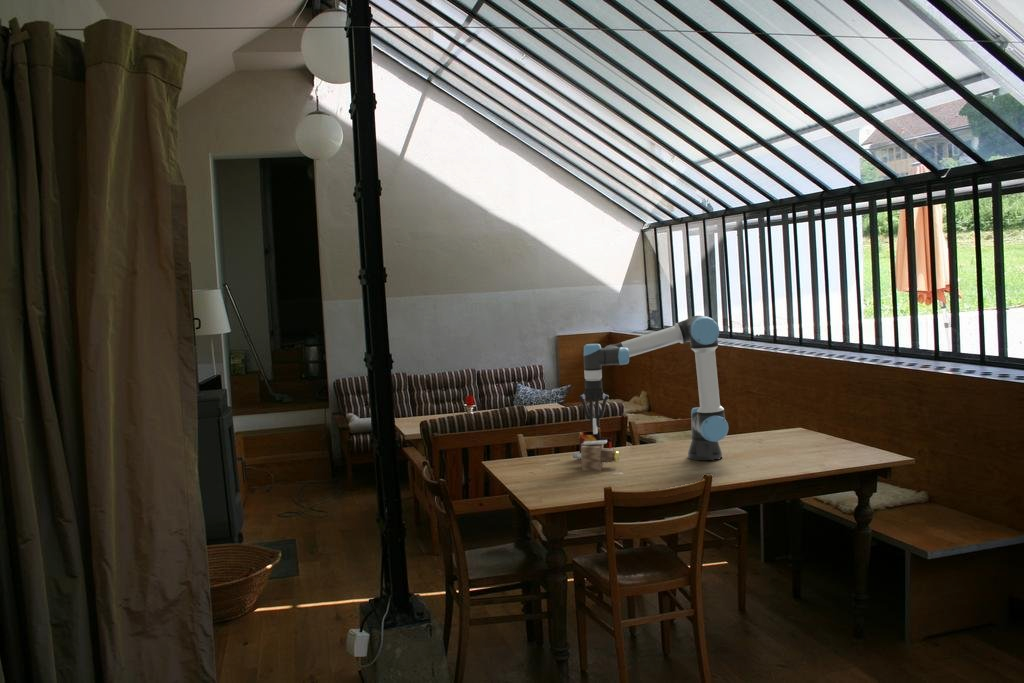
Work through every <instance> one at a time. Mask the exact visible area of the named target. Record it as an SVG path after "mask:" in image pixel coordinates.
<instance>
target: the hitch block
mask: <svg viewBox="0 0 1024 683" xmlns="http://www.w3.org/2000/svg"><path fill="white" fill-rule="evenodd" d="M584 442H586V441H583V443H584ZM583 443H582V444H581V446H582V447H581V460H580V461H581V462H580V463H581V465H580V466H581V471H593V472H594V471H598V472H600V471H601V470H602V469H603V467H604V465H605V463H613V462H614V461H613V453H614V451H615V448H613V447H611V448H609V447H608V448H607V447H606V448H605V447H604V445H605V444H594V445H583Z"/></svg>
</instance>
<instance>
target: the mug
mask: <svg viewBox="0 0 1024 683" xmlns="http://www.w3.org/2000/svg"><path fill="white" fill-rule="evenodd" d="M597 432H598V433H597V434H593V430H591V431H590V430H587V431H581V432H579V433H578V435H579V436H578V439H579V448H578V449H579V453H581V447H582V446H581V444H582V443H583V441H599V440H607V443H608V448H612V438H611V437H601V432H600V431H597ZM579 461H581V459H580V458H579Z"/></svg>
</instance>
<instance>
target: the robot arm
mask: <svg viewBox="0 0 1024 683" xmlns="http://www.w3.org/2000/svg"><path fill="white" fill-rule="evenodd" d="M719 336H720V327H719V324H718V323H717V322H716V321H715V320H714V319H713V318H712V317H709V316H707V315H693V316H691V317H688V318H687V319H684V320H681V321H678V322H676V323H674V325H673V326H670V327H667V328H664V329H663V328H662V329H660V330H656V331H653V332H651V333H647V334H644V335H641V336H637V337H634V338H631V339H627V340H624V341H621V342H619V343H614V344H609V345H606V346H605V347H602V345H601V344H600V343H587V344H586V343H585V345H584V346H583V367H584V368H583V370H584V371H583V372H584V375H583V376H584V379H585V380H584V392H583V393H582V394H581V395H579V396H578V398H579V400H580V401H581V404H582V408H583V410H584V414H585V418H587V419H589V420H590V423H589V424H590V426H591V427H592V431H593V434H597V433H598V432H599V431H598V427H599V426H600V425H601V424H600V420H601V419H602V418H603V417H604V416H605V411H606V410H605V409H606V405H607V400H608V399H609V397H610V396H609V395H608V394H605V392H604V390H603V380H602V378H603V371H602V370H603V369H602V366H614V365H615V366H623V365H628V364H629V362H630V358H631V357H635V356H637V355H641V354H645V353H648V352H651V351H655V350H657V349H661V348H665V347H668V346H671V345H675V344H677V343H680V344H686V343H689V344H690V349H691V351H693V352H694V356H695V358H694V359H695V360H694V361H695V369H696V377H697V378H696V379H697V387H698V388H697V390H698V398H699V399H698V400H699V407H692V409H691V411H690V412H691V413H690V416H691V418H690V419H691V423H690V424H691V425H690V426H691V442H690V445H689V447H688V448H689V449H688V452H687V458H688V459H690V460H694V461H699V460H714V459H719V458H721V457H722V458H723V451H722V449H721V445H720V443H719V441H722V440H723V439H725V437H726V436H727V435H728V433H729V423H728V421H727V420H726V414H725V413H726V412H725V408H724V407H723V406H722V405H721V400H720V388H719V381H718V380H719V379H718V378H719V377H718V368H717V360H716V359H717V356H716V349H718V347H719V341H718V340H719V339H718V338H719ZM586 398H587V401H588V404H589V409H588V405H587V401H586ZM600 399H602V400H603V401H602V405H601V409H600ZM594 404H595V415H594ZM714 461H715V460H714Z"/></svg>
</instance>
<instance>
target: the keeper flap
mask: <svg viewBox="0 0 1024 683" xmlns="http://www.w3.org/2000/svg"><path fill="white" fill-rule="evenodd" d="M607 443H608V442H607V440H599V441H586V442H584V443H583V445H594V444H604V445H605V444H607Z"/></svg>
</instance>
